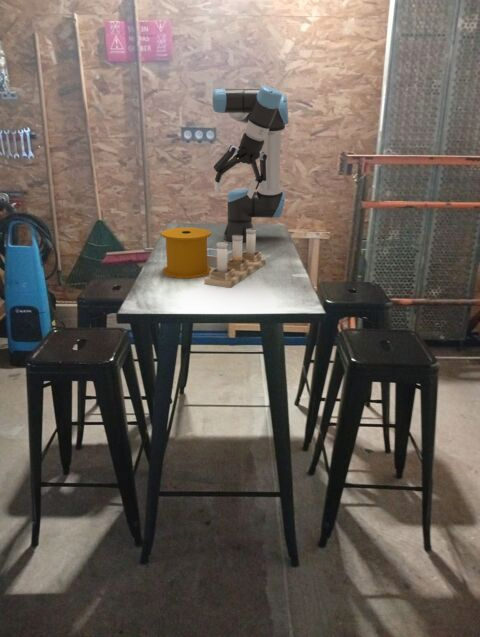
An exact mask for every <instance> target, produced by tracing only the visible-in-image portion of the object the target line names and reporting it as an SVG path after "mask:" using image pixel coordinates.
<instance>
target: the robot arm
mask: <svg viewBox="0 0 480 637" xmlns="http://www.w3.org/2000/svg"><path fill="white" fill-rule="evenodd" d="M212 110H213V111H214V113H217V114H219V113H220V114H228V116H229V117H230V118H231V119H233V120H235V121H238V122H240V123H243V124H244V123H245V124H246V125H245V128H244V133H243V134H242V137H241V139H240V143H239V146H238V147H236V146H234V145H233V144H231V145H230V146H228V147H229V148H228V150H227V151H226V152H225V153H224V154H223V155H222V156H221V158H220V159H219V160H218V161H217V162H216V163H215V164H214V166H213V169H214V171H215V172H216V175H215V178H214V181H215V184H214V187H213V189H214V191H215V193H219V191H220V189H221V186H222V184H223V181H224V178H225V173H226V172H227V171H229V170H231V169H232V168H233V167H235V166H236V165H237V164H240V163H241V164H247V165H251V168H252V171H253V173H254V177H253V179H252V181H251V183H250V186H249V187H248V188H247V187H246V188H238V189H233V190H230V191H229V192H228V194H227V201H226V202H227V221H226V226H225V230H224V233H223V239H224V240H225V241H227V242H232V243H233V240H232V236H233V235H242V236H243V240H242V243H246V229H248V228H253V229H254V226H253V218H263V219H264V218H265V219H279V218H281V217H282V215H283V212H284V206H285V199H286V193H285V192H284V191H283V188H282V187H281V186H280V177H281V176H280V173H281V172H280V170H281V169H280V168H281V147H282V146H281V145H282V144H281V143H282V142H281V141H282V139H281V138H282V132H283V131H284V130H285V129H286V125H288V124H289V122H290V120H289V107H288V98H287V96H286V94H284V93H282V92H280V90H278V89H276V88H274V87H271V86H269V85H262V86H260V88H215V89H214V90H213V91H212ZM258 159H259V167H258V165H257V161H256V160H258ZM259 169H260V170H259Z"/></svg>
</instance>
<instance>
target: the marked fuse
mask: <svg viewBox="0 0 480 637" xmlns="http://www.w3.org/2000/svg"><path fill="white" fill-rule="evenodd" d="M232 240H233V242H232V251H233V254H232V263H237V264H242V253H243V242H242V240H243V236H242V235H233V236H232Z"/></svg>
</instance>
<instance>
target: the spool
mask: <svg viewBox="0 0 480 637" xmlns="http://www.w3.org/2000/svg"><path fill="white" fill-rule="evenodd" d="M211 235H212V232H211V231H210V230H208V229H206V228H200V227H175V228H169V229H166V230H165V229H164V230H163V231H161V237H163V238H164V239H165V247H166V248H165V251H166V266H165V267H164V268H163V269H162V270H163V274H164V275H165V276H166V277H170V278H174V277H175V278H174V279H198V278H203V277H205V276H206V277H207V276H209V272H210V271H211V270H212V267H211V266H207V249H208V238H209V237H211Z"/></svg>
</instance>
